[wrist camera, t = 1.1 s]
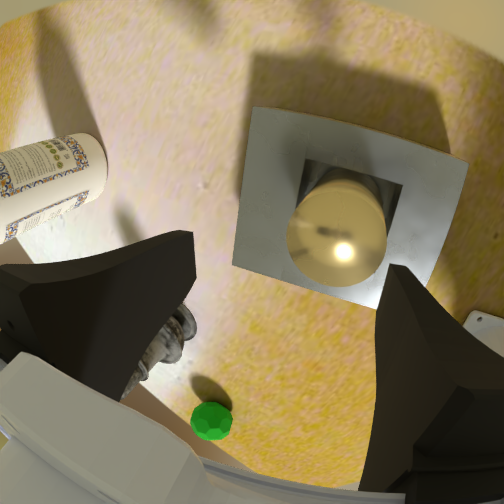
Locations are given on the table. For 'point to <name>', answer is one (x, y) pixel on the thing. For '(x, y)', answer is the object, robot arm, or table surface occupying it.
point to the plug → (339, 229)
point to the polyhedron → (211, 421)
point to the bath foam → (48, 181)
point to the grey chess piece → (165, 345)
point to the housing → (354, 158)
